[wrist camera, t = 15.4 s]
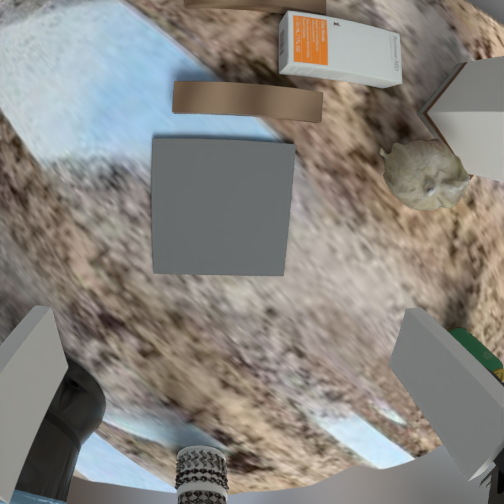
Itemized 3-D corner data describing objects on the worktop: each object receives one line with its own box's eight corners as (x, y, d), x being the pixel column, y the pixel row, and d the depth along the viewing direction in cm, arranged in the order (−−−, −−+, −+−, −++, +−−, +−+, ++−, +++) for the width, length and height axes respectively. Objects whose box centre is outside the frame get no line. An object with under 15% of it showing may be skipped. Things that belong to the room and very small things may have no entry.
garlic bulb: (441, 173, 33) (497, 187, 24) (401, 221, 34) (453, 248, 25) (398, 114, 30) (455, 110, 21) (353, 164, 32) (403, 174, 22)
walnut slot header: (174, 113, 28) (172, 111, 26) (188, -14, 23) (187, -22, 21) (315, 122, 30) (321, 121, 28) (320, -1, 25) (325, -8, 23)
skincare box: (286, 9, 22) (400, 31, 23) (277, 24, 26) (380, 41, 27) (287, 66, 24) (403, 84, 25) (278, 75, 28) (383, 89, 29)
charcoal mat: (154, 271, 33) (153, 273, 33) (153, 138, 29) (152, 138, 28) (282, 274, 35) (283, 276, 34) (294, 144, 30) (295, 144, 30)
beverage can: (422, 353, 42) (462, 401, 31) (456, 316, 41) (502, 357, 30) (439, 371, 45) (475, 414, 34) (470, 337, 43) (511, 376, 32)
